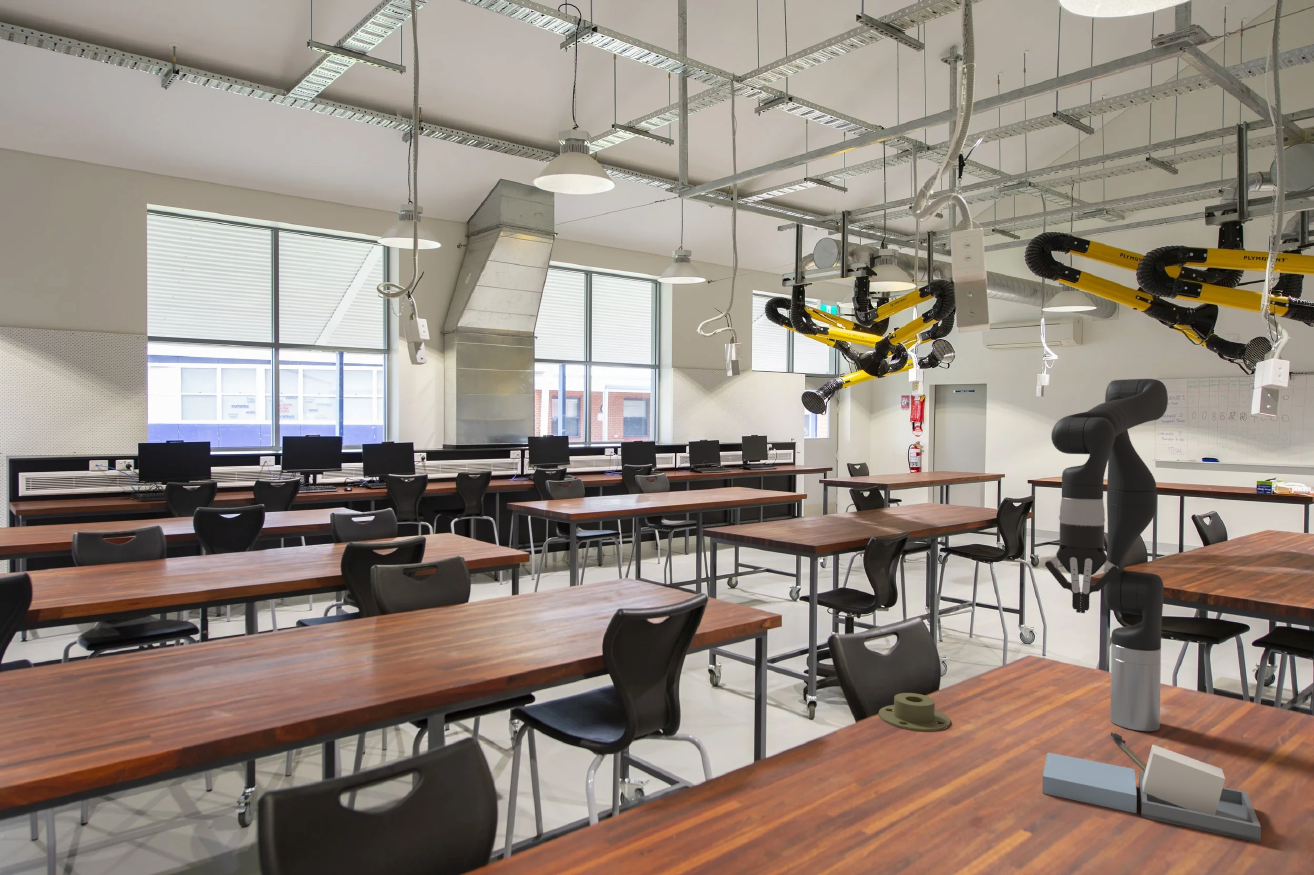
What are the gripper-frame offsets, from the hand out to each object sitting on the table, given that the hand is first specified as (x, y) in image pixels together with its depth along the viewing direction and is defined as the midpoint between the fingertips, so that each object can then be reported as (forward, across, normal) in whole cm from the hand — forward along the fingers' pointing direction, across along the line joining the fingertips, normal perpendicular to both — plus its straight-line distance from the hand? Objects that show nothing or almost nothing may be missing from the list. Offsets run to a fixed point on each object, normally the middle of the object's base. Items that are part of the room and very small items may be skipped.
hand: (1080, 612), depth 149 cm
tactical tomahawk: (+30, -10, -9) cm, 33 cm away
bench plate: (+29, -2, +12) cm, 31 cm away
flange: (+30, +32, -7) cm, 44 cm away
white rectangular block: (+27, -15, +13) cm, 34 cm away
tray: (+29, -18, +12) cm, 36 cm away
